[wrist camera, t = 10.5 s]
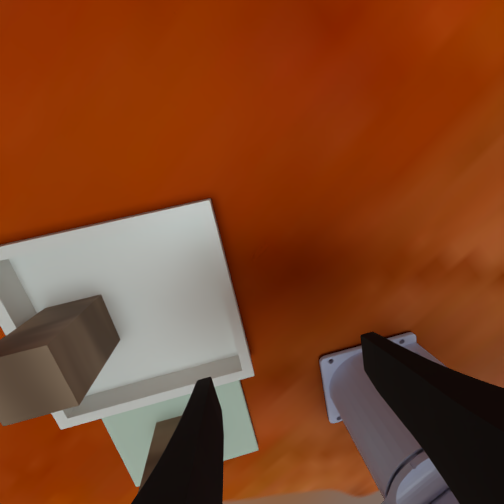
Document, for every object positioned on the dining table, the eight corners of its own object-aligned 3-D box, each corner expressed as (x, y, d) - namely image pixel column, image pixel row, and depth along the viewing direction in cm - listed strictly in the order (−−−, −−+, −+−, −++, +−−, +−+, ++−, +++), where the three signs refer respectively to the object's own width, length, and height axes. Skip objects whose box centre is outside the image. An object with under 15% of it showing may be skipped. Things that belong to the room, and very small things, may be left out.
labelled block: (211, 442, 23) (209, 530, 17) (169, 454, 23) (152, 548, 17) (200, 410, 22) (194, 493, 16) (156, 422, 22) (133, 511, 16)
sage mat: (237, 372, 22) (238, 377, 22) (257, 444, 25) (258, 450, 24) (103, 409, 21) (100, 416, 21) (138, 479, 24) (136, 486, 23)
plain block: (101, 294, 18) (46, 345, 12) (120, 339, 19) (79, 405, 14) (45, 308, 18) (-37, 366, 12) (68, 353, 19) (3, 426, 13)
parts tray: (210, 197, 18) (209, 200, 16) (250, 354, 22) (254, 375, 20) (-4, 245, 17) (-41, 255, 14) (78, 401, 21) (60, 429, 18)
